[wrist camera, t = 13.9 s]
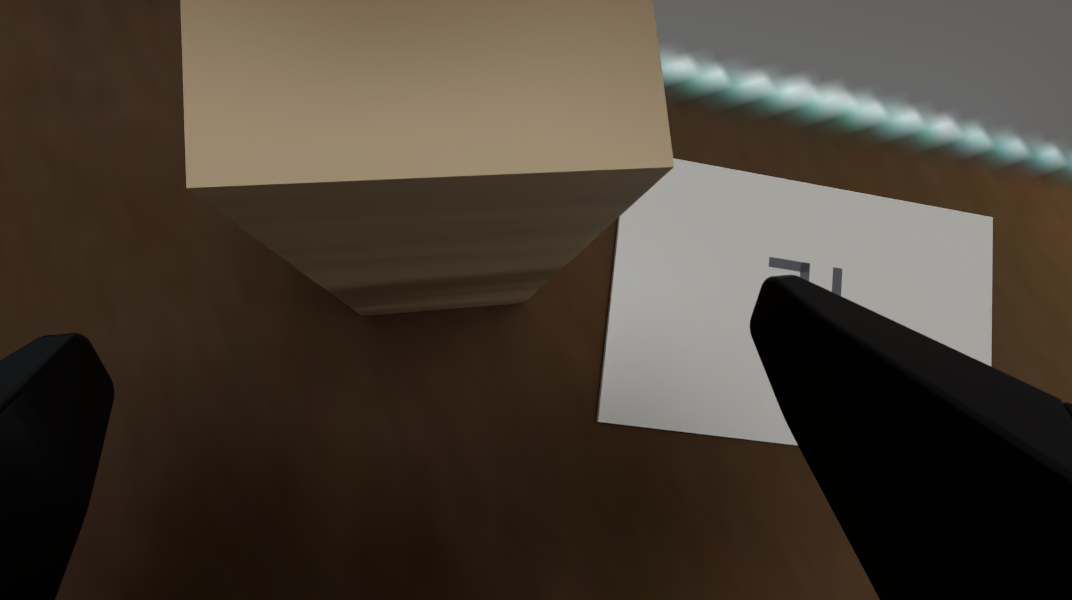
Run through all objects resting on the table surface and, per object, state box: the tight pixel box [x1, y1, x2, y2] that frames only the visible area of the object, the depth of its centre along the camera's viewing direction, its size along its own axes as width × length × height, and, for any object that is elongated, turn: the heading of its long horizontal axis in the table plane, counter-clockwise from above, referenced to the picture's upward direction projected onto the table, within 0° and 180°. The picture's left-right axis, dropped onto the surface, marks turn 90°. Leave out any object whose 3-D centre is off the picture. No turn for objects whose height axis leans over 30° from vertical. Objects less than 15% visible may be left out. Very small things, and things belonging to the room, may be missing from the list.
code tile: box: [596, 158, 993, 445], centre depth 20 cm, size 14×9×1 cm, turn 83°
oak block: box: [181, 0, 674, 316], centre depth 13 cm, size 5×5×12 cm
